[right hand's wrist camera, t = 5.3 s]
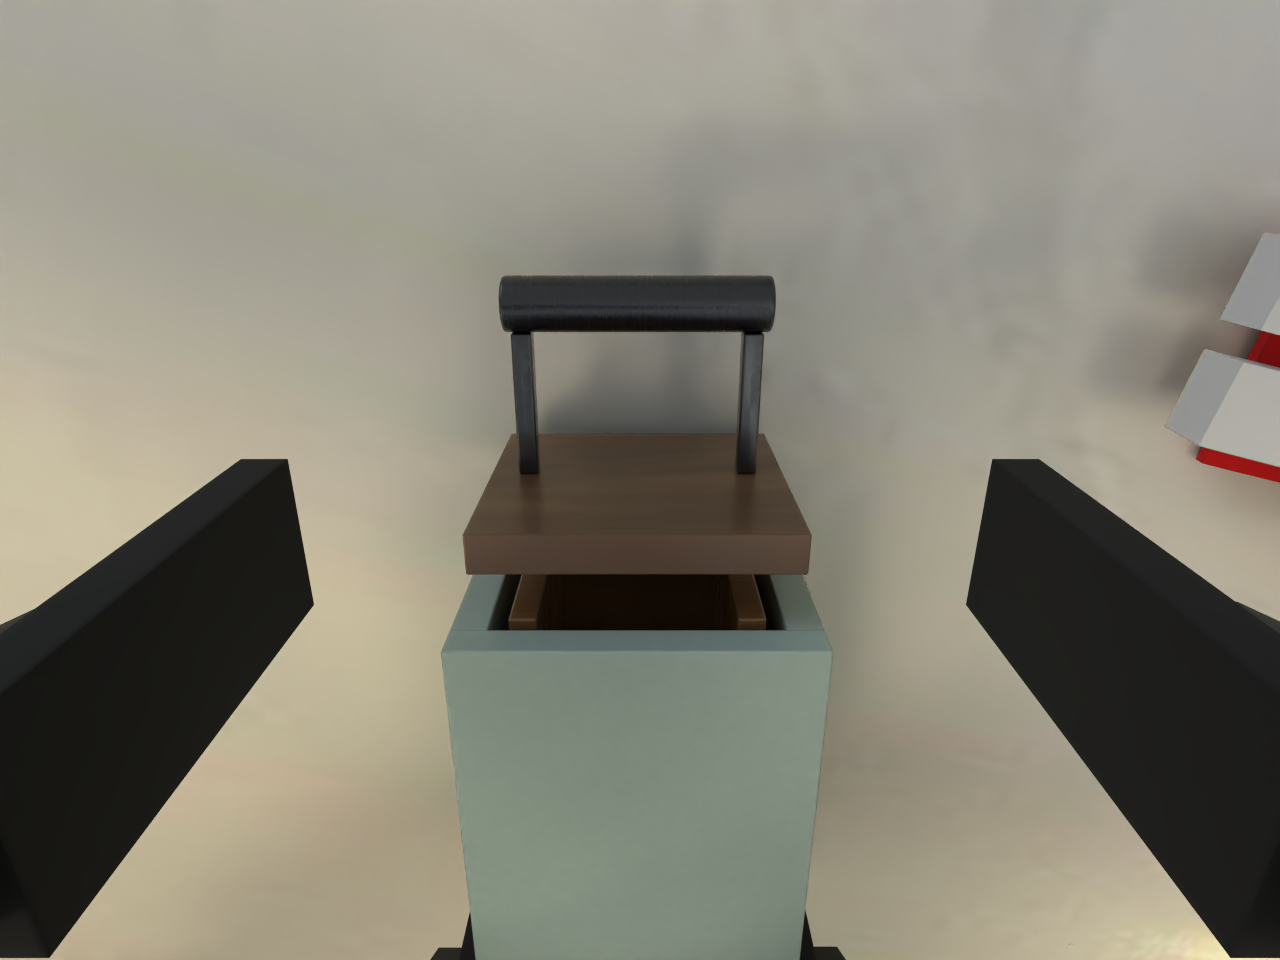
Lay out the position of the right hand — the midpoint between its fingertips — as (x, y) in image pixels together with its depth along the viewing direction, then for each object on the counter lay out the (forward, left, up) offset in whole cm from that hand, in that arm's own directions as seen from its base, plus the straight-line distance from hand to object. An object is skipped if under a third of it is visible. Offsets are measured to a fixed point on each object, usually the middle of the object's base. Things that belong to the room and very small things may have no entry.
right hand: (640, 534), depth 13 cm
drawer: (-4, -7, -15) cm, 17 cm away
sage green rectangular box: (-7, -13, -16) cm, 22 cm away
